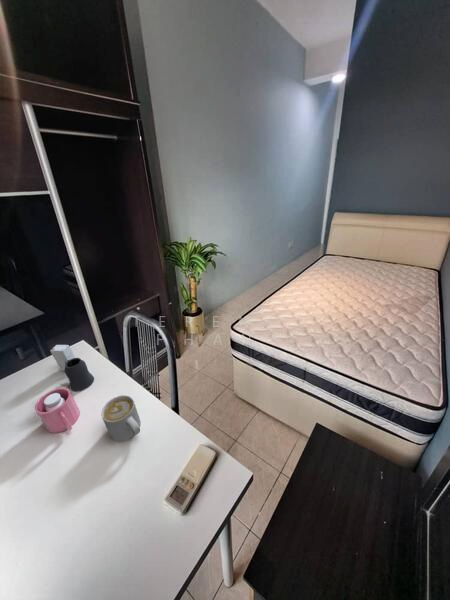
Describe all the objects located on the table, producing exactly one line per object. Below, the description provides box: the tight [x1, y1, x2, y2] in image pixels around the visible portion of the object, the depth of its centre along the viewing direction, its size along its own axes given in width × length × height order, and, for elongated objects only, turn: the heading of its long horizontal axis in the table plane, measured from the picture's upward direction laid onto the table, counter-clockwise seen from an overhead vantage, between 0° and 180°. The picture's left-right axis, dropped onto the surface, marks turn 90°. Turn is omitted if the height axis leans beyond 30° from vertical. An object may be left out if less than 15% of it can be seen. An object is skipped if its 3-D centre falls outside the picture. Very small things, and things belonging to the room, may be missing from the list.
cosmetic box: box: [50, 344, 76, 372], centre depth 108 cm, size 6×4×12 cm
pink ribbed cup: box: [34, 387, 81, 434], centre depth 84 cm, size 14×10×10 cm
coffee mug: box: [101, 394, 142, 443], centre depth 80 cm, size 13×10×10 cm
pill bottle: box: [44, 393, 65, 412], centre depth 85 cm, size 6×6×10 cm
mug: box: [63, 357, 95, 393], centre depth 101 cm, size 12×9×11 cm
